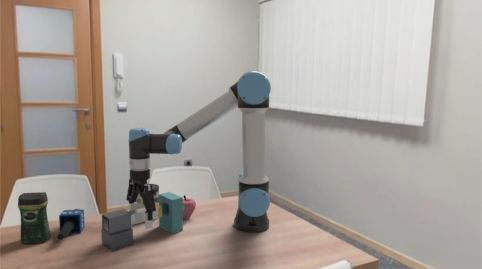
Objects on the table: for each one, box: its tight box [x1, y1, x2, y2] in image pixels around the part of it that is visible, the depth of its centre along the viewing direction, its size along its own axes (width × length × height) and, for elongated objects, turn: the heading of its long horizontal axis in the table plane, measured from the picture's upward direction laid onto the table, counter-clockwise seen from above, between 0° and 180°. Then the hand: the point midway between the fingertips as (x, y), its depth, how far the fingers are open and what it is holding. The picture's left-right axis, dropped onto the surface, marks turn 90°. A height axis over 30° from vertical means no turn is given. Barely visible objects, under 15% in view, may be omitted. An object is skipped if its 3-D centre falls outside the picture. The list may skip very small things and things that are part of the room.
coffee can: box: [135, 183, 160, 221], centre depth 163 cm, size 10×10×14 cm
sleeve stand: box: [100, 208, 134, 253], centre depth 135 cm, size 8×8×12 cm
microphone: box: [57, 208, 85, 241], centre depth 145 cm, size 8×8×25 cm
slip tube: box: [103, 205, 162, 231], centre depth 139 cm, size 4×22×4 cm, turn 134°
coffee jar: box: [17, 191, 51, 245], centre depth 137 cm, size 10×8×19 cm
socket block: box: [158, 191, 184, 234], centre depth 151 cm, size 10×5×14 cm, turn 44°
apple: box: [182, 194, 197, 220], centre depth 163 cm, size 10×9×10 cm
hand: (141, 223), depth 141 cm, fingers open, 11 cm apart
